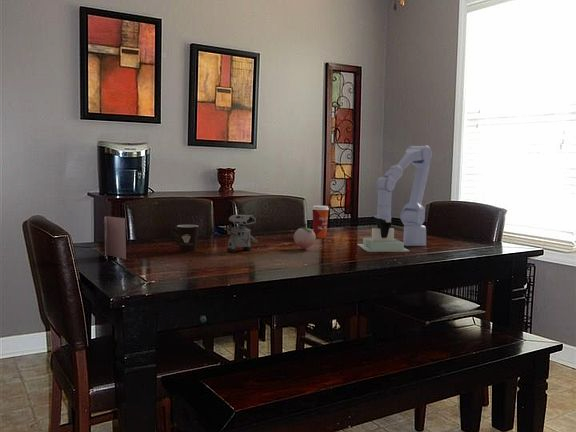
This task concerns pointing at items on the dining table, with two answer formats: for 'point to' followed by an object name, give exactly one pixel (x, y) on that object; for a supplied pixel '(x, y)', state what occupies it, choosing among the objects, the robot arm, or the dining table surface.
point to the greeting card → (115, 237)
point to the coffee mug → (186, 237)
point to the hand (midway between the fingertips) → (383, 237)
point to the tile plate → (377, 235)
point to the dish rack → (383, 246)
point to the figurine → (240, 232)
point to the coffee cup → (320, 221)
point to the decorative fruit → (304, 237)
